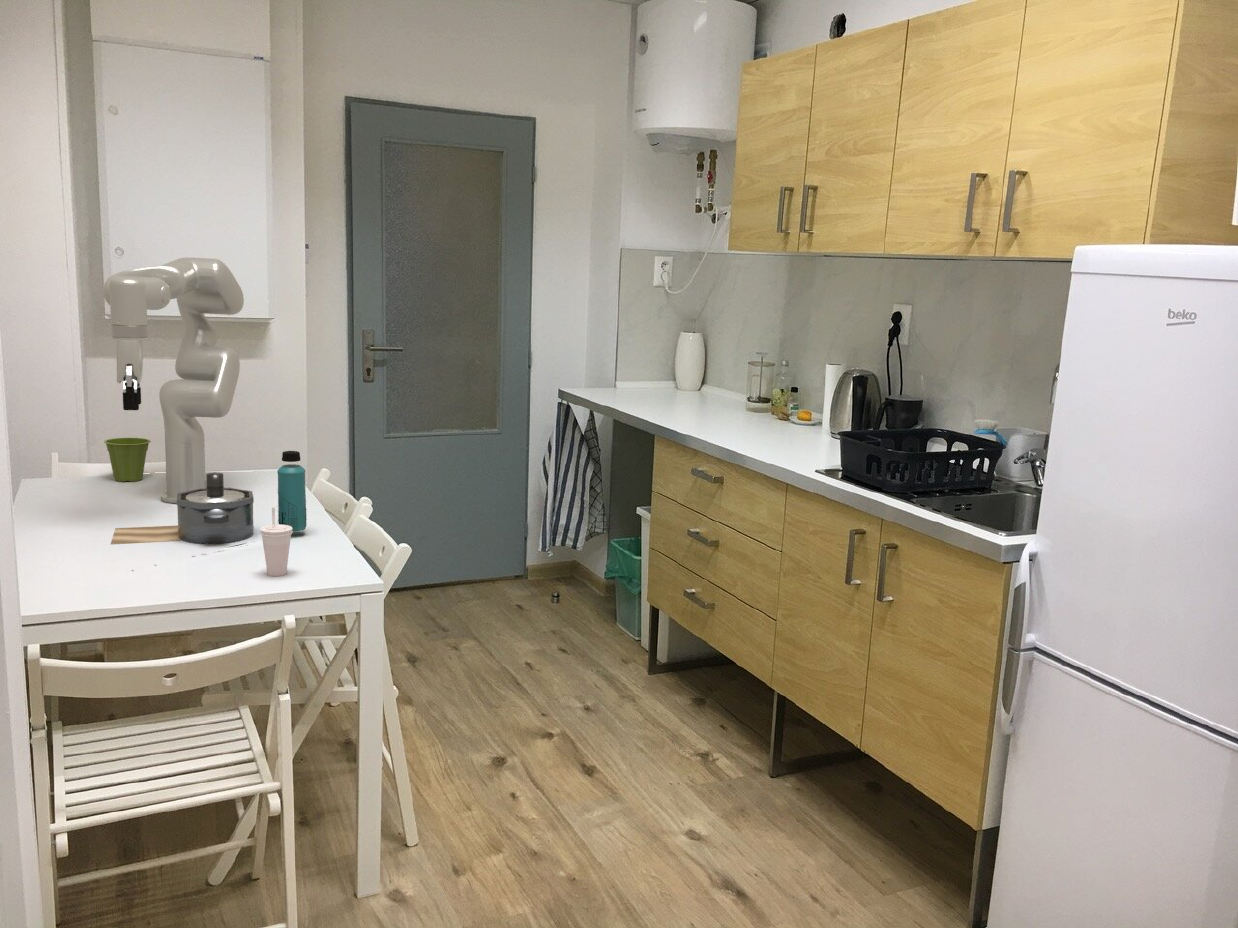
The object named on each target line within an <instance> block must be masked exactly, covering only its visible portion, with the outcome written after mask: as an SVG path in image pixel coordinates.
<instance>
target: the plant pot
mask: <svg viewBox="0 0 1238 928" xmlns="http://www.w3.org/2000/svg"><path fill="white" fill-rule="evenodd" d="M103 443H104V444H105V445H106V449H107V452H108V455H109V460H110V466H111V471H112V474H113V479H114V481H116V482H120V483H121V482H122V483H123V482H127V481H128V482H133V483H134V482H139V481H141V480H143V478H144V472H145V464H146V457H147V452H148V449H149V445H150V443H151V439H148V438H145V437H144V438H143V437H113V438H108V439H105V440H104V441H103Z"/></svg>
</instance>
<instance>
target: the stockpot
mask: <svg viewBox="0 0 1238 928" xmlns="http://www.w3.org/2000/svg"><path fill="white" fill-rule="evenodd" d="M206 490H207V488H203V489H196V490H191V491H187V492H183V493H178V494H177V503H176V508H177V526H178V537H179V539H180V540H181V541H182V542H184V543H189V544H193V545H194V544H195V545H223V544H232V543H238V542H241V541H245V540H248V539H250V538H252V537H253V536H254V501H255V500H254V498H255V497H254V494H253V490H245V489H240V488H234V487H224V490H232V491H238V492H242V493H244V499H241V500H237V501H233V502H221V503H197V502H191V501H186V496H187V495H188V494H190V493H194V492H199V491H206ZM244 544H245V545H246V544H247V542H245V543H241V544H235V545H231V546H230V548H232V547H233V548H234V547H238V546H242V545H244Z"/></svg>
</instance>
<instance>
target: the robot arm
mask: <svg viewBox="0 0 1238 928" xmlns="http://www.w3.org/2000/svg"><path fill="white" fill-rule="evenodd" d="M102 288H103V289H102V294H103V297H104V299H105V302H106V303H107V304H108V305H109V307H110V329H111V330H110V333H111V334H110V335H111V340H115V341H116V343H115V344H116V346H115V352H116V354H115V356H116V359H115V361H116V382H117V383H118V384H121V382H123V385H122V386H123V388H122V389H123V392H122V409H123V411H139V409H140V405H141V404H142V389H141V387H140V385H141V384H140V383H141V381H142V378H143V369H144V368H143V366H144V364H143V363H144V362H143V361H144V359H143V358H144V355H143V349H144V348H143V341H147V340H148V339H149V338H148V337H149V335H148V332H149V331H148V310H149V311H158V310H162V309H164V308H166V307H167V306H168V305H169V304H170V301H171V300H175V299H176V303H177V308H178V311H179V314H180V318H181V322H182V325H183V334H182V337H181V341H180V345H179V348H178V353H177V356H176V360H175V365H174V367H175V368H174V370H175V373H176V375H177V376H178V377H179V378H181V379H178V378H177V379H170V380H168V381H166V382H164V383H163V384H162V385H161V387H160V388H159V394H158V395H159V396H158V397H159V404H160V409H161V412H162V417H163V427H164V443H165V444H164V446H165V447H164V448H165V449H164V450H165V474H166V475H165V477H166V491H165V492H162V493H161V494H160V495H159V496H160V500H161V501H162V502H165V503H169V504H177V494H178V493H183V492H187V491H191V490H196V489H203V488H207V484H206V453H205V452H206V451H205V450H206V449H205V432H204V428H203V427H202V425H201V424H200V422H199V421H198V419H197V418H223V417H226V416H227V415H228V413H229V412H230V410H231V408H232V404H233V401H234V397H235V396H234V395H235V391H236V388H237V383H238V381H239V374H240V370H241V366H240V364H241V363H240V358H239V354H238V353H237V352H236V351H235V349H233V348H231V347H228V346H220V345H219V346H217V342H218V337H219V336H218V331H217V330H216V328H215V326H214V325H213V324H212V323H211V321H210V320H209V319H208V318H207V317H206V315H207V314H209V315H227V316H232V315H237V314H238V313H240V312H241V311H242V310H243V306H244V303H245V298H244V293H243V292H244V291H243V289H242V287H241V285H240V284H239V283H238V281H237V279H236V277H235V276H234V274H233V273H232V271H231V269H230V268H229V267H228V266H227V265H226V264H225V263H224V262H223V261H221V260H220V259H219V258H207V257H206V258H205V257H180V258H177V259H174V260H172V261H170V262H167V263H164V264H162V265H153V266H147V267H143V268H142V267H141V268H135V269H129V270H122V271H119V272H117V273H115V274H112V275H110V276H109V277H108V278H107V279H106V281H105V282H104V284H103V287H102ZM205 314H206V315H205Z"/></svg>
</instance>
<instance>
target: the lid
mask: <svg viewBox="0 0 1238 928" xmlns="http://www.w3.org/2000/svg"><path fill="white" fill-rule="evenodd" d="M205 480H206V484H207V490H206V491H199V492H194V493H190V494H188V495H187V496H186V501H191V502H197V503H221V502H233V501H237V500H241V499H244V493H242V492H238V491H232V490H224V488H225V487H224V483H225V482H224V473H223V472H208V473H205Z"/></svg>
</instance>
